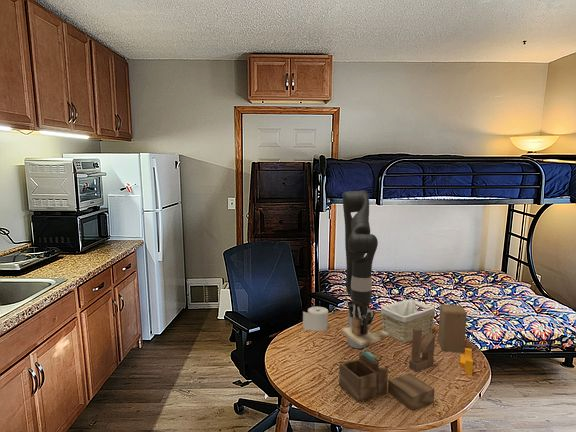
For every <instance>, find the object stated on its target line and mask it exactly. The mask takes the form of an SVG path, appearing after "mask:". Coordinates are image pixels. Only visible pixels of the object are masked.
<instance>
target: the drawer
mask: <svg viewBox="0 0 576 432" xmlns="http://www.w3.org/2000/svg"><path fill="white" fill-rule="evenodd" d="M362 316H363V315H362ZM364 321H365V319H363V322H364ZM360 327H361V322H360V319H359V316H357V317H353V318H352V326H351V327H343V328H340V329H339V333H341V334H344V335H345V336H346V337H347V338H348V337H349V338H351V339H352V340H354V341H355V342H356V343H358V344H359V345H365V344H368V343H369V344H372V343H375V342H379V341H381V339H383V338H386V337H389V333H387V332H385V331H383V330H380V331H375V332H371V331H368V325H367V332H366V334H363V335H362V334H360Z"/></svg>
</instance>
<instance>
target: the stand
mask: <svg viewBox="0 0 576 432" xmlns="http://www.w3.org/2000/svg"><path fill="white" fill-rule="evenodd" d="M387 394H389V395H390V396H392V397H393V398H395V399H396V400H397V401H398V402H400V403H401V405H403V406H405V407H406V408H407V409H409V410H410V411H414V410H416V409H419V408H422V407H424V406H427V405H430V404H431V403H434V401H435V388H434V387H433V386H431V385H429V384H428V383H426V382H425V381H423V380H422V379H420V378H418V377H417V376H416V375H413V374H412V373H410V372H409V373H405V374H403V375H400V376H397V377H394V378H390V379H387Z"/></svg>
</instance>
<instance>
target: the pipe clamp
mask: <svg viewBox="0 0 576 432" xmlns="http://www.w3.org/2000/svg"><path fill="white" fill-rule="evenodd" d="M472 353H473V350H472V348H470V347H469V348H467V347H464V354H463V353H460V354H459V356H460V357H459V366H460V368H464V375H466V376H471V377H472V376H473V367H474V360H473V359H472V356H473V355H472Z"/></svg>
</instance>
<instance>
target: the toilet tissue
mask: <svg viewBox="0 0 576 432" xmlns="http://www.w3.org/2000/svg"><path fill="white" fill-rule="evenodd" d="M328 321H329V310H328V309H327V308H326V307H323V306H311V307H309V308H307V312H305V311H302V329H303V330H304V329H305V330H306V331H312V332H324V331H327V329H328V328H329V325H328V323H329V322H328Z"/></svg>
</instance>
